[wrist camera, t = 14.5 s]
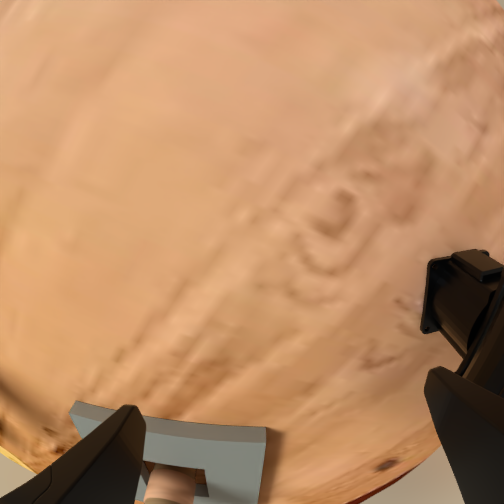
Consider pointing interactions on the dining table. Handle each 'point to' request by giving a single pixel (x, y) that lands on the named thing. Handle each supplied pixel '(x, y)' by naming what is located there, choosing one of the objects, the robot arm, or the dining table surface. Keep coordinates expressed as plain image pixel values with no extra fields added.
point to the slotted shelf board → (195, 453)
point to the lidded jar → (170, 485)
